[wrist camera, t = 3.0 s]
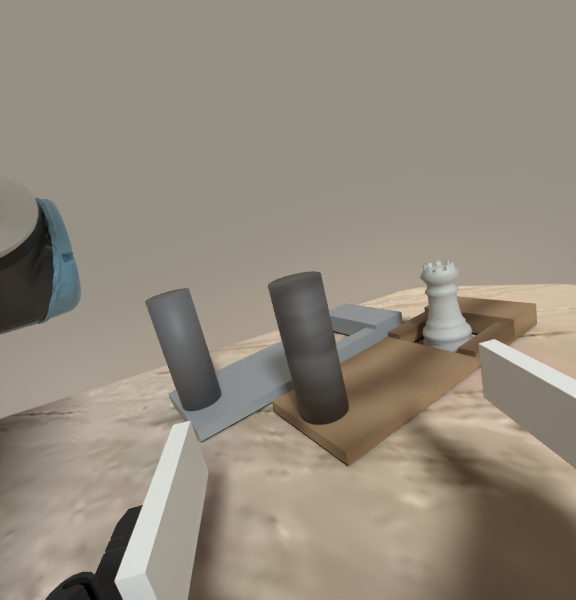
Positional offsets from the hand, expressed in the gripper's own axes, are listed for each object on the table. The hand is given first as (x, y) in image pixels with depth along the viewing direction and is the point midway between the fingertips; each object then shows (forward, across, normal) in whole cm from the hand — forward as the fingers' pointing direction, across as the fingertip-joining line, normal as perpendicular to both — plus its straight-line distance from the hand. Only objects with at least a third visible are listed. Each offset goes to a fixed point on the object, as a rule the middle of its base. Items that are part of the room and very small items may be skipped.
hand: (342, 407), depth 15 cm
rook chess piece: (+16, +13, -7) cm, 22 cm away
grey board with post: (+20, -1, -7) cm, 21 cm away
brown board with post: (+14, +9, -7) cm, 18 cm away
